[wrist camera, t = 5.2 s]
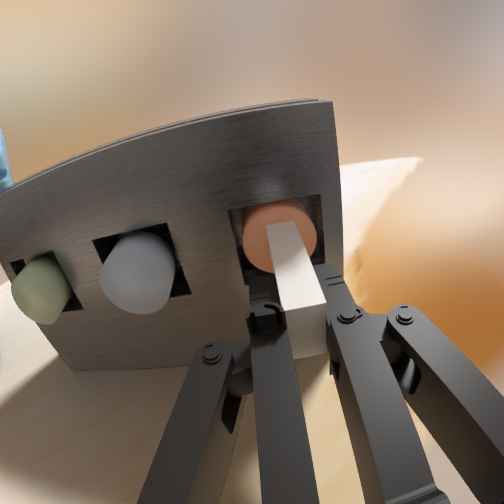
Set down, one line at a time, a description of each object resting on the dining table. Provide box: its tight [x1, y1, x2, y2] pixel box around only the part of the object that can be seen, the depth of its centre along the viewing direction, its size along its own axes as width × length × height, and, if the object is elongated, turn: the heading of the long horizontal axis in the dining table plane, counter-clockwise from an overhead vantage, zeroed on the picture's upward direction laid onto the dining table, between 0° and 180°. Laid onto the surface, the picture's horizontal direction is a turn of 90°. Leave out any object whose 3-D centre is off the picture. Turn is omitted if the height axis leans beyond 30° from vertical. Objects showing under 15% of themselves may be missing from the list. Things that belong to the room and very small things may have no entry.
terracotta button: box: [242, 198, 317, 273], centre depth 17 cm, size 4×2×4 cm, turn 93°
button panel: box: [0, 98, 343, 370], centre depth 19 cm, size 23×5×16 cm, turn 93°
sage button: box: [11, 256, 72, 325], centre depth 16 cm, size 4×2×4 cm, turn 93°
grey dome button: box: [100, 231, 177, 314], centre depth 16 cm, size 4×2×4 cm, turn 94°
